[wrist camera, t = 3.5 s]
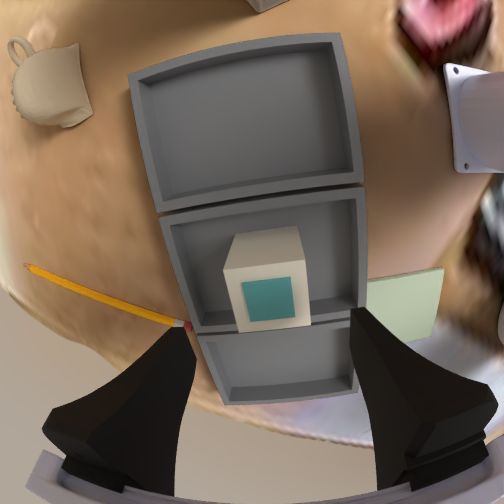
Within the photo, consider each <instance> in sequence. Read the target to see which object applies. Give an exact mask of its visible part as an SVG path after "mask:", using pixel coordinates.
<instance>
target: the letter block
mask: <svg viewBox="0 0 504 504" xmlns="http://www.w3.org/2000/svg"><path fill="white" fill-rule="evenodd" d="M223 272H224V276H225V280H226V284H227V288H228V292H229V296H230V300H231V304H232V308H233V312H234V316H235V319H236V323H237V327H238V331H239V333H242V332H254V331H264V330H274V329H283V328H292V327H300V326H308V325H311V318H310V305H309V294H308V283H307V272H306V263H305V257H304V252H303V248H302V244H301V240H300V235H299V231H298V227H297V226H289V227H282V228H275V229H268V230H260V231H253V232H246V233H239V234H235V237H234V239H233V242H232V245H231V248H230V251H229V254H228V257H227V260H226V263H225V266H224V269H223Z"/></svg>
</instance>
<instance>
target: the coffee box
mask: <svg viewBox="0 0 504 504" xmlns="http://www.w3.org/2000/svg"><path fill="white" fill-rule="evenodd" d="M246 1H247V2H248V3H249V4H250V5H251V6H252V7H253V8H254V9H255V10H256V11H257V12H258V13H262V12H264V11H266V10H268V9H270V8H272V7H274V6H277V5H279V4H281V3H283V2H285V1H288V0H246Z"/></svg>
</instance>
